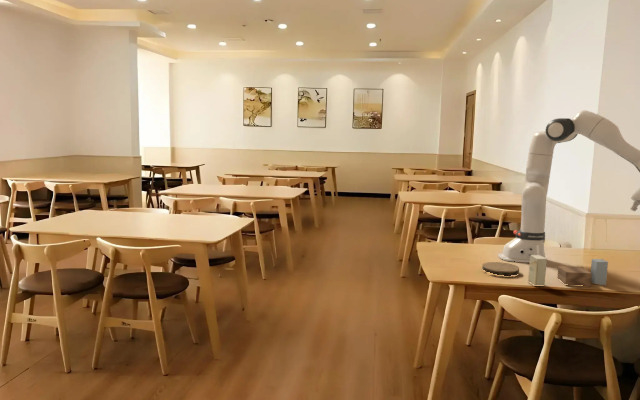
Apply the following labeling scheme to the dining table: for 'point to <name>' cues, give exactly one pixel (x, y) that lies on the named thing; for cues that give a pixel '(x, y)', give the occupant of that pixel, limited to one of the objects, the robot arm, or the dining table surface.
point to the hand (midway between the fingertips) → (638, 211)
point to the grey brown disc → (501, 268)
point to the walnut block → (574, 275)
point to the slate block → (599, 271)
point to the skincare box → (537, 270)
